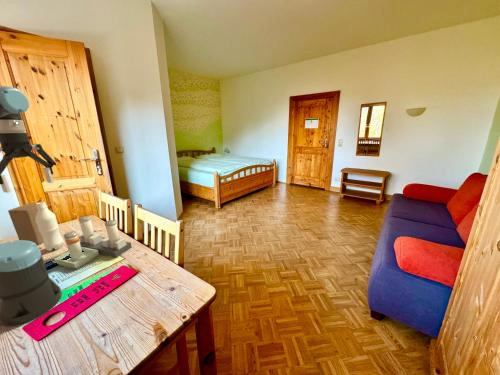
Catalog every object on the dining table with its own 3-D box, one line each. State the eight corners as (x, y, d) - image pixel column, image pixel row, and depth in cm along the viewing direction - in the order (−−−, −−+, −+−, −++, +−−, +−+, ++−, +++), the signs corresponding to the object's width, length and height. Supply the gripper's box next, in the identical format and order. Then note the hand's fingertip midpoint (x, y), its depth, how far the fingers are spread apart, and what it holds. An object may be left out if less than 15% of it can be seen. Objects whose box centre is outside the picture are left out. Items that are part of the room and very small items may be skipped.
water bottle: (68, 244, 108) (54, 200, 101) (54, 252, 101) (39, 205, 94) (56, 243, 109) (41, 200, 101) (41, 251, 102) (25, 205, 94)
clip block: (116, 257, 96) (113, 246, 94) (76, 249, 103) (73, 238, 101) (131, 247, 104) (129, 236, 103) (93, 240, 112) (91, 229, 110)
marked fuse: (76, 262, 92) (68, 237, 88) (68, 260, 93) (60, 235, 90) (86, 256, 96) (79, 232, 93) (79, 254, 98) (72, 230, 94)
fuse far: (89, 243, 103) (82, 220, 99) (82, 242, 104) (76, 219, 100) (98, 239, 107) (92, 216, 103) (91, 238, 108) (85, 215, 104)
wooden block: (38, 245, 108) (26, 210, 102) (20, 245, 108) (7, 210, 102) (56, 235, 117) (46, 203, 111) (39, 235, 117) (28, 203, 112)
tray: (76, 269, 88) (74, 264, 88) (55, 264, 92) (53, 258, 91) (99, 255, 98) (98, 250, 97) (79, 251, 102) (78, 246, 101)
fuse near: (115, 249, 98) (109, 224, 94) (108, 247, 99) (102, 223, 95) (123, 244, 102) (118, 220, 98) (116, 242, 103) (111, 219, 100)
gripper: (-36, 133, 63) (-9, 198, 69) (57, 131, 86) (71, 179, 92) (-49, 133, 65) (-22, 196, 71) (45, 131, 88) (59, 178, 94)
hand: (30, 187), depth 81 cm, fingers open, 13 cm apart
